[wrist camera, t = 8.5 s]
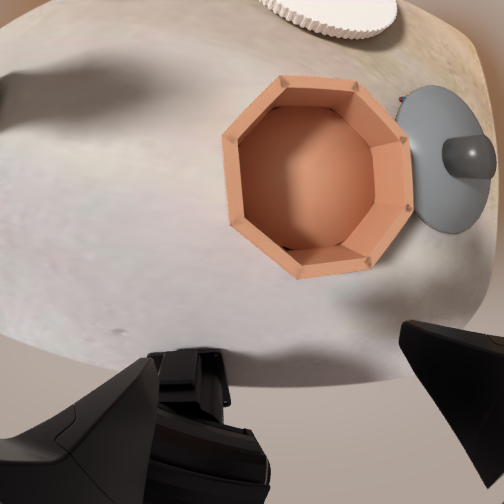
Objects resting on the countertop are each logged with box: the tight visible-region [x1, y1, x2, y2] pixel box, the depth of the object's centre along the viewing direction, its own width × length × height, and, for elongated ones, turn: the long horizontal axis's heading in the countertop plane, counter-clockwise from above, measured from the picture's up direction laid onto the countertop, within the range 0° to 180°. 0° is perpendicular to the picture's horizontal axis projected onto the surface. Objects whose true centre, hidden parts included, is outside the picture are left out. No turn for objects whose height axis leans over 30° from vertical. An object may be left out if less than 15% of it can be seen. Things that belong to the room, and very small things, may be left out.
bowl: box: [222, 75, 414, 280], centre depth 17 cm, size 12×12×4 cm
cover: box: [395, 85, 497, 233], centre depth 16 cm, size 14×14×5 cm
